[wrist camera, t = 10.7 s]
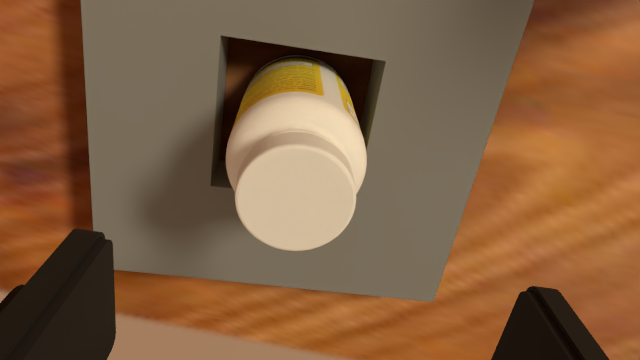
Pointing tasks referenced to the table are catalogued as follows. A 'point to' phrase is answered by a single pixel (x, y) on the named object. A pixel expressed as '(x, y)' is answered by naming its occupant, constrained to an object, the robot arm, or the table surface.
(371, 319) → the table surface
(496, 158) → the table surface
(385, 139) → the socket board
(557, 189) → the table surface
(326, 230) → the supplement bottle
